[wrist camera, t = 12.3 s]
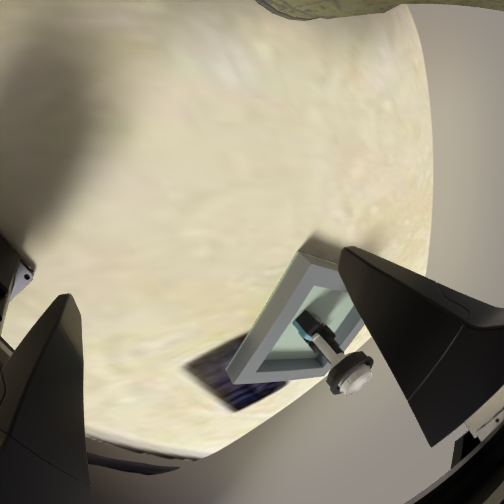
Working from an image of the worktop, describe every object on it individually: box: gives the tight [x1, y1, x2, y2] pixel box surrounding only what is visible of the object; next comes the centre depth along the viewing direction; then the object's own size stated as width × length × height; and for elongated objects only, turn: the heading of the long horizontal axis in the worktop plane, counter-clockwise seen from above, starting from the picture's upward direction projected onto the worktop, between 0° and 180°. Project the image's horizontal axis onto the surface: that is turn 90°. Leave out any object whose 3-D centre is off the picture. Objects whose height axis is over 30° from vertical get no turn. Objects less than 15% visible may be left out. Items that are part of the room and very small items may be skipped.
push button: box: [292, 310, 373, 395], centre depth 31 cm, size 7×5×10 cm
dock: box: [225, 251, 364, 384], centre depth 34 cm, size 16×16×3 cm
